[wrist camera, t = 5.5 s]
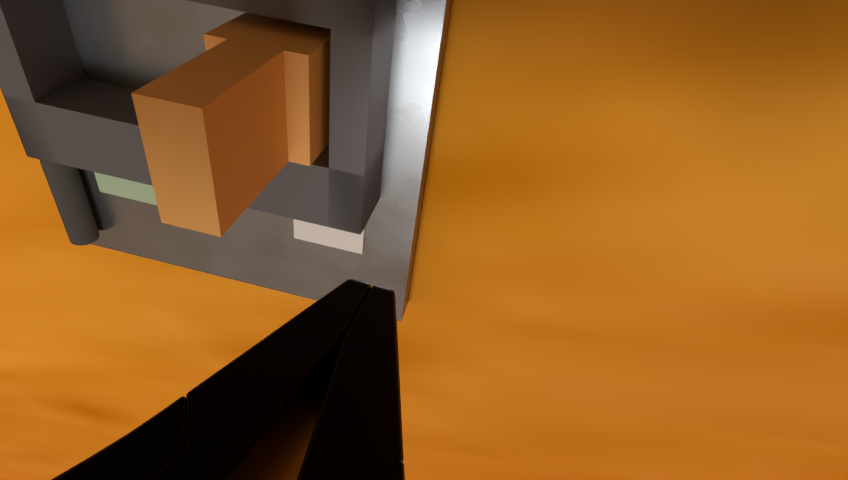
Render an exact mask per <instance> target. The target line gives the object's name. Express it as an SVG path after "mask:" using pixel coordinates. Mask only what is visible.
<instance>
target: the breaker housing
mask: <svg viewBox="0 0 848 480" xmlns="http://www.w3.org/2000/svg"><path fill="white" fill-rule="evenodd" d="M187 1H192V2H197V3H202V4H207V5H212V6H217V7H222V8H227V9H232V10H237V11H242V12H247V13H252V14H257V15H262V16H267V17H272V18H277V19H283V20H288V21H293V22H298V23H303V24H308V25H313V26H318V27H323V28H328V29H331V41H330V119H329V143H328V145H327V146H326V147H325V148H324V150H323V151H322V152H321V153H320V155H319V156H318V157H317V158H316V159H315V161H314V162H313V163H312V164H311V166H306V165H302V164H297V163H293V162H289V161H288V162H287V164H286V165H285V166H284V167H283V168H282V169H281V170H280V171H279V173H278V174H277V175H276V176H275V177H274V178H273V179H272V180H271V182H270V183H269V184H268V185H267V186H266V187H265V188H264V189H263V191H262V192H261V193H260V194H259V195H258V196H257V197H256V198H255V200H254V201H253V202H252V203H251V204H250V205H249V206H248V207H247V208H249V209H253V210H258V211H262V212H266V213H270V214H275V215H279V216H283V217H287V218H292V219H293V222H294V238H296V239H300V240H304V241H308V242H313V243H317V244H321V245H325V246H329V247H334V248H338V249H342V250H346V251H350V252H355V253H359V254H363V252H364V238H365V226H366V224H367V222H368V220H369V218H370V216H371V214H372V213H373V211H374V209H375V207H376V205H377V203H378V201H379V199H380V190H381V178H382V167H383V155H384V143H385V132H386V120H387V108H388V97H389V85H390V73H391V62H392V50H393V38H394V27H395V15H396V3H397V0H187ZM0 88H1V90H2V93H3V95H4V98H5V101H6V103H7V106H8V108H9V111H10V113H11V116H12V118H13V121H14V124H15V126H16V129H17V131H18V134H19V136H20V139H21V141H22V144H23V146H24V149H25V152H26V154H27V156H28V157H32V158H37V159H41V160H45V161H49V162H54V163H58V164H62V165H66V166H71V167H75V168H79V169H83V170H88V171H92V172H94V174H95V177H96V181H97V184H98V187H99V190H100V192H103V193H107V194H112V195H116V196H120V197H124V198H128V199H133V200H137V201H141V202H145V203H149V204H153V205H157V202H156V197H155V193H154V189H153V185H152V180H151V176H150V172H149V167H148V163H147V159H146V154H145V150H144V146H143V142H142V137H141V133H140V129H139V124H138V120H137V116H136V112H135V107H134V103H133V99H132V94H131V93H132V92H134V91H136V89H131V88H127V87H122V86H117V85H113V84H108V83H104V82H99V81H94V80H90V79H85V77H84V73H83V69H82V66H81V62H80V59H79V55H78V52H77V48H76V45H75V41H74V38H73V34H72V31H71V27H70V24H69V20H68V17H67V13H66V10H65V6H64V3H63V0H0Z"/></svg>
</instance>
